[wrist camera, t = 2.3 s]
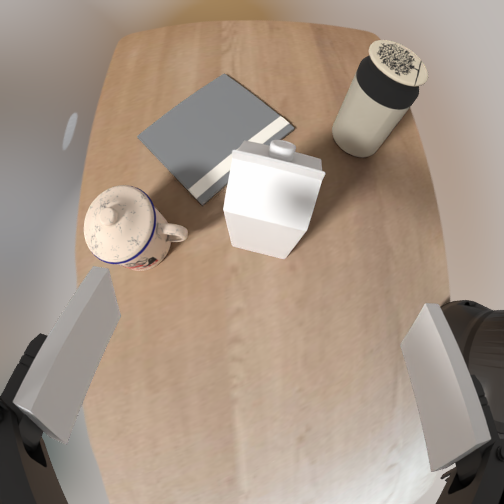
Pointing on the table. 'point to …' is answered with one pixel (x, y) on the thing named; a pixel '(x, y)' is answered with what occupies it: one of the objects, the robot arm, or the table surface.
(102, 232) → the teacup with lid
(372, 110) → the travel mug
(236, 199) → the milk carton
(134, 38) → the table surface
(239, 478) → the table surface
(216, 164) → the mat
